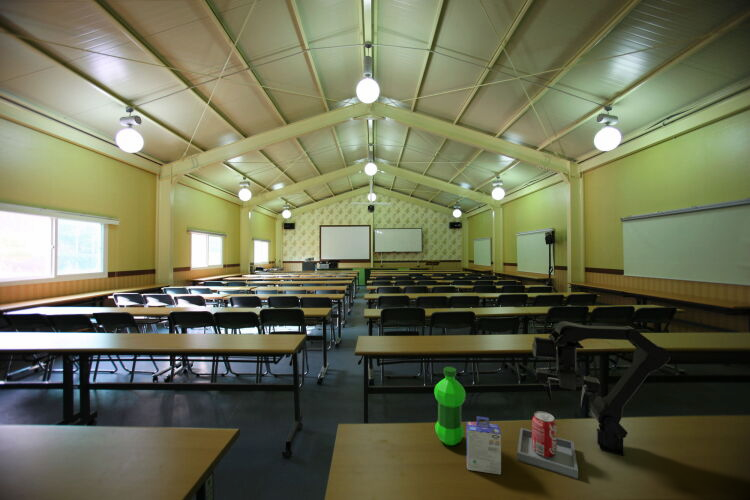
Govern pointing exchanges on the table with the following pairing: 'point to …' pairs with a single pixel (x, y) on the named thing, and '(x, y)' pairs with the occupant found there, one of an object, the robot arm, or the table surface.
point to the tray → (559, 463)
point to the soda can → (544, 434)
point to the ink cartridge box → (483, 446)
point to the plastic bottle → (449, 408)
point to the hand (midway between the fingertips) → (565, 403)
